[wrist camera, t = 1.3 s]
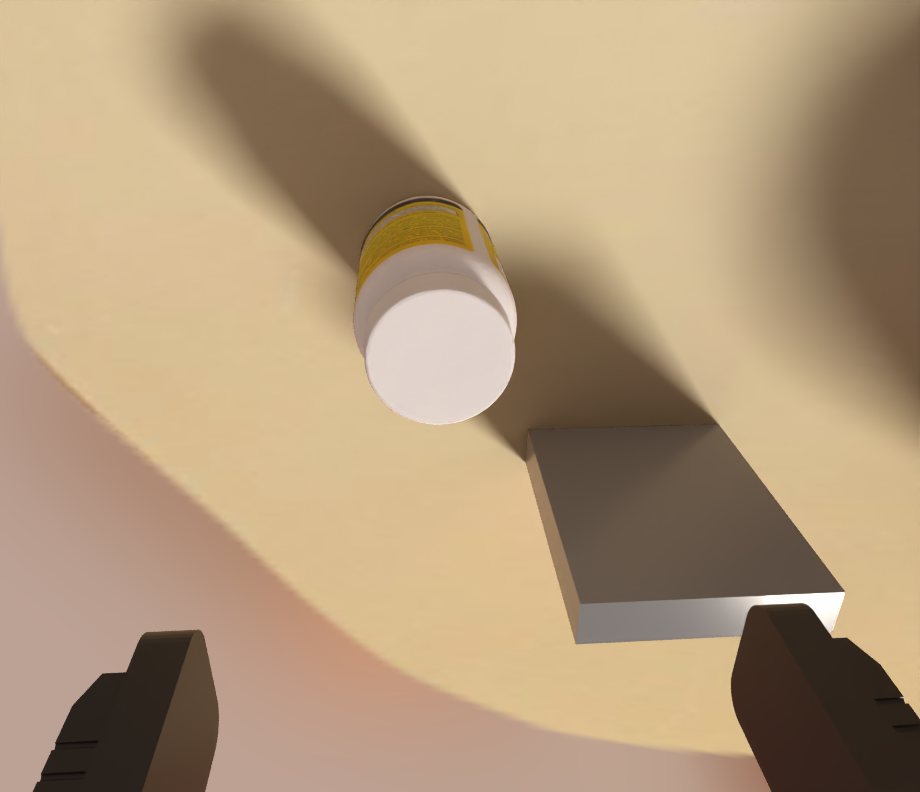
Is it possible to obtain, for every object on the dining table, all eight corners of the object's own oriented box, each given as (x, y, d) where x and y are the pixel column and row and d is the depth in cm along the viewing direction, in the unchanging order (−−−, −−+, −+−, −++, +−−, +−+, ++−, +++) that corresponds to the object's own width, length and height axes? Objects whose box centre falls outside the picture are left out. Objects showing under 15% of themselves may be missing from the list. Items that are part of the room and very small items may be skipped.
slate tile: (527, 429, 31) (580, 604, 22) (718, 424, 31) (845, 592, 22) (525, 465, 31) (575, 648, 23) (711, 459, 32) (831, 635, 23)
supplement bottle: (334, 270, 27) (310, 374, 19) (414, 164, 25) (422, 233, 18) (439, 344, 28) (454, 466, 21) (521, 249, 27) (567, 344, 20)
